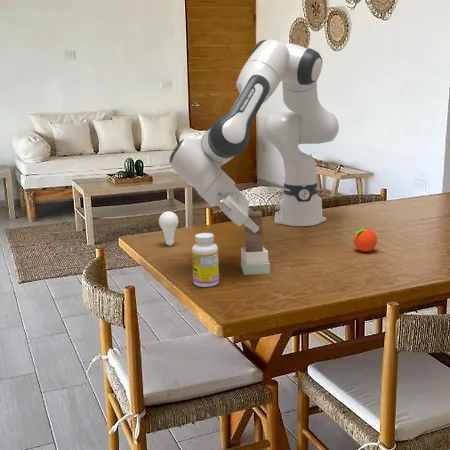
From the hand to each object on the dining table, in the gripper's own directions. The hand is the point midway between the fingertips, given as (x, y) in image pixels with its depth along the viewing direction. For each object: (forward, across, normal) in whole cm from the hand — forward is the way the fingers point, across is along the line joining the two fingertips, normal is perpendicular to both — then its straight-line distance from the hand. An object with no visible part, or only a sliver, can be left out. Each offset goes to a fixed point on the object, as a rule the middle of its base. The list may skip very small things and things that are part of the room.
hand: (257, 225), depth 158 cm
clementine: (+31, +16, -13) cm, 37 cm away
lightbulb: (-10, +26, +28) cm, 40 cm away
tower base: (+8, 0, +10) cm, 13 cm away
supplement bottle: (0, -10, +18) cm, 21 cm away
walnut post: (+4, 0, +5) cm, 7 cm away
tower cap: (+6, 0, +7) cm, 10 cm away
